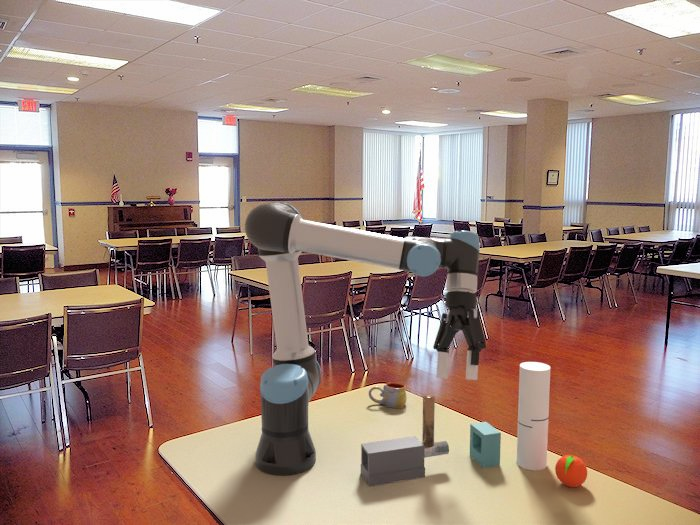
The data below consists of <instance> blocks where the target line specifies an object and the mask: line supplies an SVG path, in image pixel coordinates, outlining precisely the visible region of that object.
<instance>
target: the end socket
mask: <svg viewBox="0 0 700 525" xmlns="http://www.w3.org/2000/svg"><path fill="white" fill-rule="evenodd" d="M469 426H470V427H469V428H470V430H469V456H470V457H471V458H472V460H474V461H475V462H477V463H478V465H479V466H481V468H483V469H486V468H494V467H498V466H499V467H500V465H501V445H502V444H501V443H502V442H501V440H502V439H501V438H502V437H501V436H502V434H501V433H502V432H500V431H499V430H498V429H497V428H495V427H494V426H493V425H491V424H490V423H488V422H487V421H481V422H474V423H470V425H469Z"/></svg>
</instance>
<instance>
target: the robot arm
mask: <svg viewBox="0 0 700 525" xmlns="http://www.w3.org/2000/svg"><path fill="white" fill-rule="evenodd" d="M244 231H245V232H244V233H245V236H246V237H247V239H248V241H249V242H250V243H251V244H252V245H253V246H254V247H255V248H257V252H258V257H259V258H260V259H261V260H263V261H264V262H265V267H266V276H267V283H268V290H269V291H268V292H269V298H270V305H271V307H270V308H271V314H272V322H273V328H274V337H275V343H276V344H275V345H276V350H275V351H274V353H272V356H271V357H272V358H271V359H272V365H273V366H270V367H269V368H267V369H266V370H265V371H264V372H262V375H261V377H260V384H259V391H260V392H259V393H260V406H261V407H260V409H261V411H260V412H261V413H260V414H261V415H260V416H261V433H260V438H259V441H258V445H257V448H256V451H255V466H256V467H257V468H258V470H260V471H262V472H263V473H267V474H269V475H277V476H280V475H281V476H287V475H296V474H299V473H302V472H305V471H307V470H308V469H310V468H312V467H313V466H314V465H315V463H316V460H317V455H316V454H317V451H316V448H315V445H314V442H313V438H312V436H311V433H310V431H309V403H310V402H311V400H312V398H313V397H314V395H315V393H316V392H317V390H318V388H319V387H320V384H321V381H322V380H321V378H322V370H321V366H320V364H319V362H318V360H317V358H316V349H315V348H313V347H312V346H311V345H309V337H308V331H307V324H306V323H307V322H306V315H305V314H306V313H305V306H304V299H303V291H302V283H301V282H302V281H301V273H300V266H299V264H300V263H299V259H298V258H299V257H300V255H301V254H302V252H303V253H309V254H314V255H320V256H325V257H331V258H335V259H341V260H347V261H352V262H358V263H362V264H367V265H373V266H378V267H379V266H380V267H384V268H390V269H395V270H400V271H403V272H408V273H412V274H415V275H416V276H419V277H428V276H431V275H433V274H434V273H436V272H437V270H438V269H439V268H440V269H447V276H446V291H447V293H445V307H446V308H448V309H449V312H448V313H445V312H443V313H442V314H441V320H440V324H439V327H438V330H437V334H436V337H435V341H434V343H433V350H436V352H437V363H436V364H437V365H436V376H435V377H436V378H437V379H445V380H447V379H448V375H449V374H448V371H449V358H450V351H449V348H450V346H451V344H452V342H453V341H454V338H455V337H456V334H458V333H459V332H460V331H461V332H462V333H463V336H464V339H465V341H466V343H467V345H468V347H467V352H466V367H465V380H469V381H470V380H473V381H478V374H479V363H480V352H481V351H482V349H483V350H484V349H486V348H487V343H486V340H485V335H484V331H483V328H482V322H481V311H480V310H477V309H476V308H477V297H478V296H477V295H476V293H477V291H478V276H479V264H480V263H479V262H480V251H481V250H480V237H479V235H478V234H477V233H476V232H473V231H469V230H455V231H452V232H451V233H450V236H449V238H444V239H443V238H432V237H422V236H421V237H420V236H417V235H416V236H405V237H404V238H403V237H398V236H394V235H393V236H392V235H387V234H383V233H382V234H381V233H377V232H371V231H367V230H362V229H356V228H350V227H344V226H339V225H333V224H328V223H323V222H318V221H317V222H316V221H312V220H308V219H303V217H302V215H301V213H300V212H299V210H298V209H297V208H295V207H294V206H292V205H291V204H289V203H286V202H279V201H277V202H276V201H275V202H271V203H263V204H259V205H257V206H255V207H253V209H252V210H250V211H249V213H248V214H247V216H246V219H245V221H244Z"/></svg>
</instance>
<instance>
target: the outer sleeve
mask: <svg viewBox="0 0 700 525" xmlns="http://www.w3.org/2000/svg"><path fill="white" fill-rule="evenodd" d="M360 446H361V447H360V454H361V455H360V456H361V457H360V474H361V476H362V477H363V479H364V481H365V482H366V483H367V485H368V487H373V486H379V485H385V484H391V483H398V482H402V481H409V480H415V479H422V478H425V477H426V467H425V458H424V451H425V445H424V444H423V443H422V441H421V440H420V439H419V438H418V437H417V436H416V435H415V436H413V435H412V436H407V437H406V436H405V437H400V438H392V439H385V440H379V441H371V442H365V443H364V442H363V443H361V444H360Z"/></svg>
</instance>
